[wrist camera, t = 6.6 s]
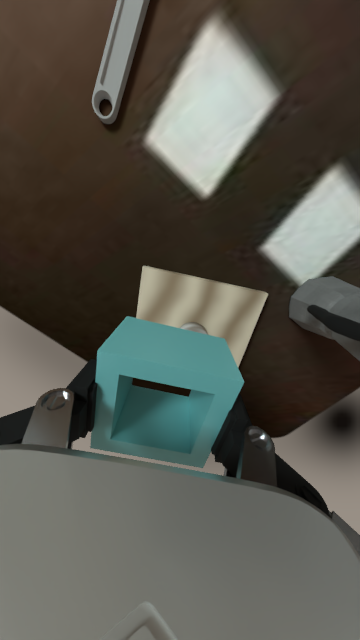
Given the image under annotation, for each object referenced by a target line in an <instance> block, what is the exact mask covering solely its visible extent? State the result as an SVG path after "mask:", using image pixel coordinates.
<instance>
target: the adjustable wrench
mask: <svg viewBox="0 0 360 640" xmlns="http://www.w3.org/2000/svg"><path fill="white" fill-rule="evenodd" d="M149 1H150V0H117V4H116V8H115V12H114V15H113V19H112V23H111V27H110V31H109V35H108V39H107V42H106V46H105V50H104V54H103V58H102V62H101V66H100V69H99V73H98V77H97V81H96V85H95V89H94V93H93V96H92V105H93V108H94V111H95V113H96V114H97V116H98V117H99V119H100V120H101V121H102V122H103V123H105V124H111V123H113V122H114V121H115V120H116V117H117V114H118V111H119V107H120V104H121V100H122V97H123V93H124V90H125V86H126V83H127V79H128V75H129V72H130V68H131V65H132V61H133V58H134V54H135V51H136V47H137V44H138V40H139V36H140V33H141V29H142V26H143V22H144V19H145V15H146V12H147V8H148V5H149ZM103 99H108V100H109V101H110V102H111V104H112V111H111V113H110V114H109V115H108V116H103V115H102V114H101V113H100V110H99V104H100V102H101V101H102V100H103Z"/></svg>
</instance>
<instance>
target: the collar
mask: <svg viewBox="0 0 360 640" xmlns="http://www.w3.org/2000/svg"><path fill="white" fill-rule="evenodd" d="M133 377H134V378H139V379H144V380H149V381H153V382H158V383H163V384H168V385H173V386H177V387H182V388H187V389H191V392H190V395H189V397H186V396H181V395H176V394H172V393H167V392H162V391H157V390H152V389H147V388H142V387H137V386H133V385H132V379H133ZM95 383H97V396H96V408H95V421H94V428H93V430H92V433H91V448H94V449H100V450H105V451H111V452H116V453H122V454H127V455H133V456H138V457H144V458H150V459H155V460H161V461H167V462H172V463H178V464H183V465H189V466H194V467H200V468H203V466H204V465H205V463H206V460H207V458H208V456H209V454H210V452H211V448H212V446H213V444H214V442H215V440H216V437H217V435H218V433H219V431H220V429H221V427H222V425H223V423H224V421H225V419H226V416H227V414H228V412H229V410H231V409H232V407H233V404H234V402H235V400H236V398H237V396H238V394H239V392H240V390H241V388H242V386H243V384H244V380H243V378H242V376H241V373H240V371H239V369H238V367H237V365H236V362H235V360H234V358H233V356H232V353H231V351H230V349H229V347H228V344H227V342H226V340H225V339H224V338H220V337H215V336H211V335H207V334H202V333H198V332H194V331H189V330H185V329H181V328H176V327H172V326H168V325H163V324H159V323H155V322H150V321H146V320H142V319H137V318H133V317H129V316H127V317H126V318H125V319H124V320H123V321H122V323H121V324H120V325H119V326H118V327H117V328H116V330H115V331H114V332H113V333H112V334H111V335H110V337H109V338H108V339H107V340H106V341H105V342H104V344H103V345H102V346H101V347H100V348H99V349H98V352H97V366H96V379H95Z"/></svg>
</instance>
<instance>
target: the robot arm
mask: <svg viewBox="0 0 360 640" xmlns="http://www.w3.org/2000/svg"><path fill="white" fill-rule="evenodd" d="M96 366H97V359H96V360H93V359H91V360H90V361H89V362H88V363H87V364H86V365H85V367H84V368H83V369H82V370H81V371H80V373H79V374H78V375H77V376H76V377H75V378H74V379H73V381H72V382H71V383H70V384H69V385H68V386H67V388H66V389H65V388H58V389H53V390H50V391H48V392H47V393H45V394H43V395H42V396H41V397H40V398H39V399H38V401H37V403H36V405H35V406H33V407H30V408H27V409H24V410H21V411H18V412H15V413H13V414H10V415H7V416H4V417H1V418H0V640H360V535H359V534H358V533H357V532H356V531H354V530H353V529H352V528H351V527H350V526H349V525H348V524H347V523H346V522H345V521H344V520H343V519H341V518H340V517H339V516H338V515H337V514H336V513H335V512H334V511H333V512H332V513H331V512H330V511H329V510H328V508H327V505H326V503H325V502H324V500H323V498H322V496H321V495H320V494H319V493H318V491H317V490H316V489H315V488H314V487H313V486H312V485H311V484H310V483H308V482H307V481H306V480H305V479H304V478H303V477H302V476H301V475H299V474H298V473H297V472H296V471H295V470H294V469H293V468H291V467H290V466H289V465H288V464H287V463H286V462H284V460H282V459H281V458H280V457H279V456H278V455H277V454H276V453H275V447H274V443H273V441H272V439H271V438H270V436H269V435H268V434H267V433H266V432H265V431H264V430H262V429H260V428H258V427H256V426H252V423H251V421H250V418H249V416H248V413H247V410H246V408H245V405H244V403H243V400H242V397H241V395H240V392H239V394H238V396H237V398H236V400H235V402H234V404H233V407H232V409H231V410H229V412H228V414H227V416H226V419H225V421H224V423H223V425H222V427H221V429H220V431H219V433H218V435H217V437H216V440H215V442H214V444H213V446H212V448H211V452H212V454H214V455H215V462H220V463H222V464H223V466H224V467H225V471H224V476H222V475H216V474H210V473H205V472H199V471H194V470H189V469H183V468H178V467H172V466H166V465H161V464H155V463H149V462H144V461H137V460H133V459H126V458H121V457H115V456H109V455H103V454H97V453H92V452H85V451H79V450H72V446H73V441H75V440H77V439H79V437H82V438H85V437H86V435H87V433H88V431H90V432H91V431H92V430H93V428H94V421H95V408H96V396H97V383H95V379H96Z"/></svg>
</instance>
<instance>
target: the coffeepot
mask: <svg viewBox="0 0 360 640" xmlns="http://www.w3.org/2000/svg"><path fill="white" fill-rule="evenodd" d="M289 317H290V318H291V319H292V320H293V321H294V322H296V323H297V324H298V325H299V326H301V327H302V328H303V329H306V330H309V331H311V332H314V333H316V334H319V335H322V336H324V337H327V338H329V339H334V340H336V341H337V342H338V343H339V344H340V345H341V346H343V347H344V348H345V349H346V350H347V351H348V352H350V353H351V354H352V355H353V356H354V357H355V358H357V359H358V360H359V361H360V288H357V287H355V286H353V285H351V284H348V283H346V282H344V281H342V280H340V279H337V278H335V277H333V276H331V277H321V278H315V279H309V280H307V281H306V282H305V283H304V284H303V285H301V286H300V287H299V288H298V289H297V290H296V291H295V293H294V294H293V295H292V296H291V299H290V304H289Z"/></svg>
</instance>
